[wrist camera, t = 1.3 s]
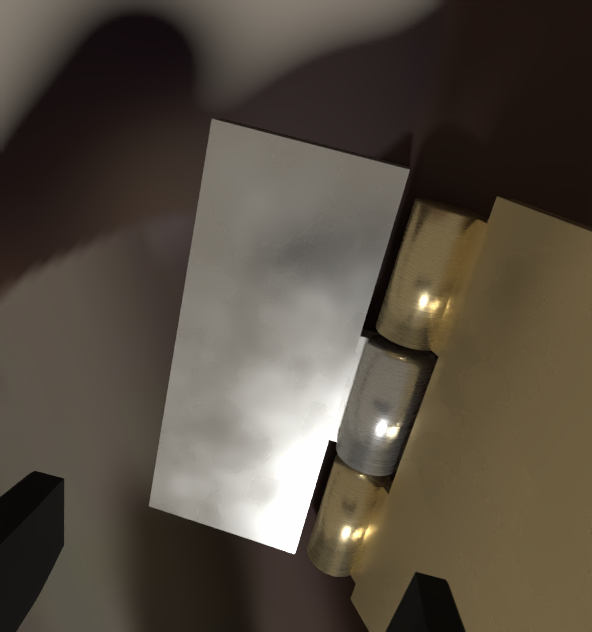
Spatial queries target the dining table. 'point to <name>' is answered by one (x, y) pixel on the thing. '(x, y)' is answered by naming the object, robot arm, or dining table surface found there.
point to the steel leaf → (282, 336)
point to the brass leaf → (481, 428)
